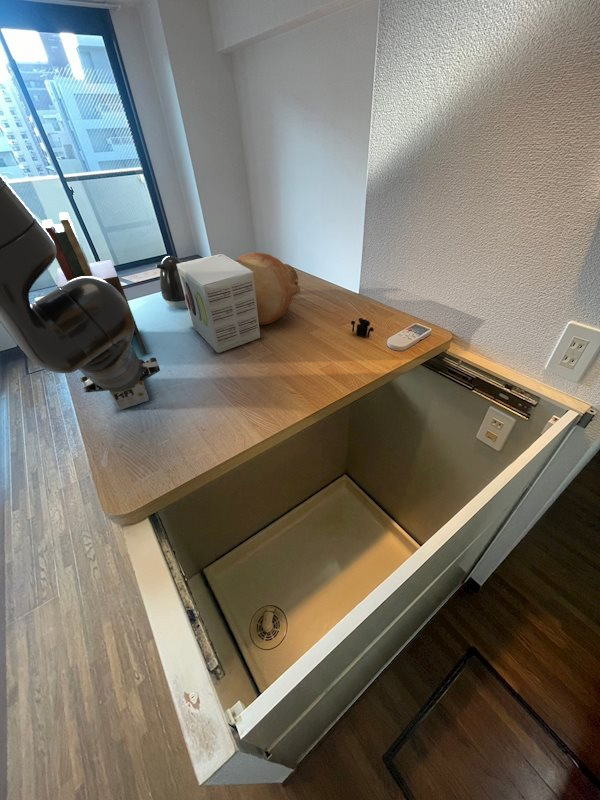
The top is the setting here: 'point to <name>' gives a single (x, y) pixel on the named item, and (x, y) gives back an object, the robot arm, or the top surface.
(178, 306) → the pump dispenser
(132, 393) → the coffee box
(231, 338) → the supplement box
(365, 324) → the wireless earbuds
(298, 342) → the top surface
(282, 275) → the jug
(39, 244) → the robot arm
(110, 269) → the shelf
